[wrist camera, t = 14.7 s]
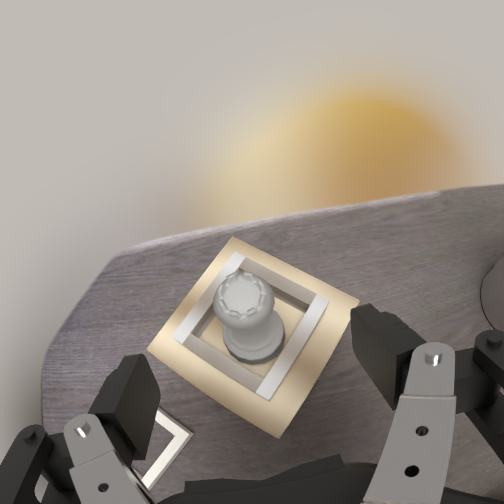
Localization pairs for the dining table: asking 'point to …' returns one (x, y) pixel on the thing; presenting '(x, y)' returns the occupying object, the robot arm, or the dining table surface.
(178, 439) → the low collar
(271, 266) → the birch stand
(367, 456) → the dining table surface
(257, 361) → the rook chess piece
